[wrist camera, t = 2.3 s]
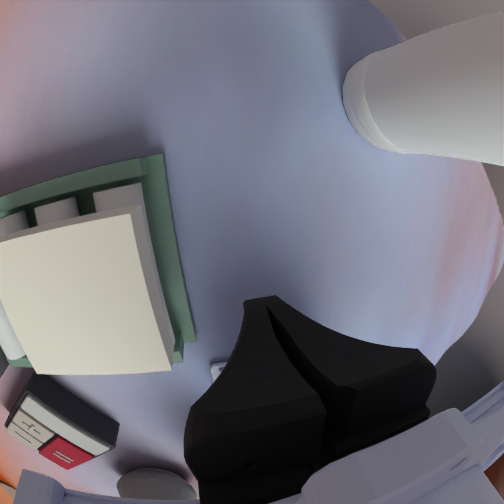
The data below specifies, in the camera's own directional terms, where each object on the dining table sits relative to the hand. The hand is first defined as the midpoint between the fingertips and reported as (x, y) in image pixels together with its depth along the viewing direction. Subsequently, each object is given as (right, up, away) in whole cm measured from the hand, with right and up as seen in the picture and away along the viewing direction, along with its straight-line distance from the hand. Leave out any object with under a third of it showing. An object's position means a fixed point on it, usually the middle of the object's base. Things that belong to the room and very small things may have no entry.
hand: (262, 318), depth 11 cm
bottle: (+10, +14, +7) cm, 19 cm away
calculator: (-24, -17, +13) cm, 32 cm away
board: (-11, 0, +4) cm, 11 cm away
